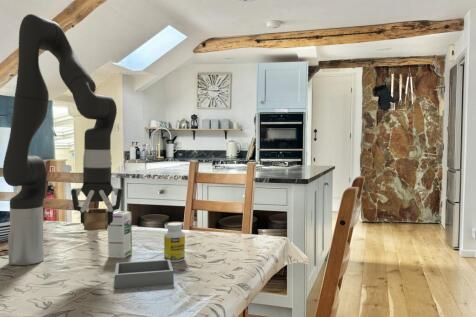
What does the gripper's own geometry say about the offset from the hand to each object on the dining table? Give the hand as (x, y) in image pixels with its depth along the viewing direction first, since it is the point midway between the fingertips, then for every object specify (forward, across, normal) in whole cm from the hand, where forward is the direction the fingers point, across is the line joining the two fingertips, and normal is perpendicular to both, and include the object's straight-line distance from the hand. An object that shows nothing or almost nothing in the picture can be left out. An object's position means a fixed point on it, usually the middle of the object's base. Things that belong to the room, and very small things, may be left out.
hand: (97, 224), depth 118 cm
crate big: (+14, +13, -8) cm, 21 cm away
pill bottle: (+14, +23, +9) cm, 28 cm away
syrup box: (+14, +6, +18) cm, 24 cm away
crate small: (+1, 0, 0) cm, 1 cm away
